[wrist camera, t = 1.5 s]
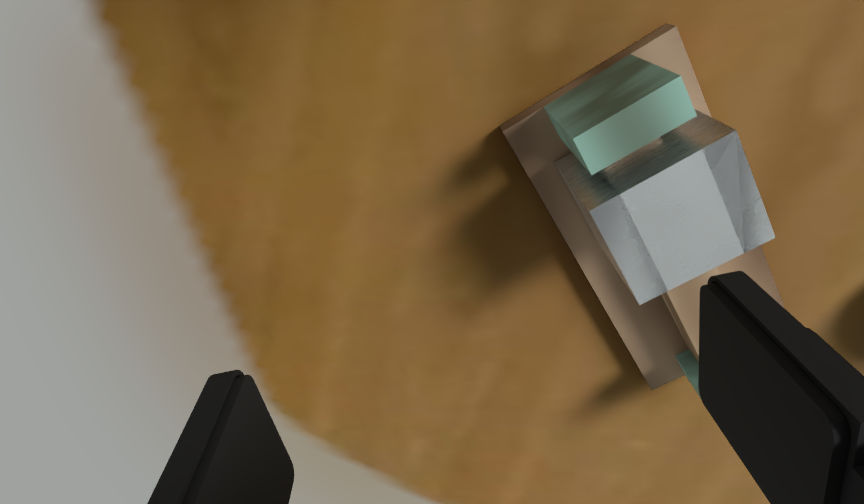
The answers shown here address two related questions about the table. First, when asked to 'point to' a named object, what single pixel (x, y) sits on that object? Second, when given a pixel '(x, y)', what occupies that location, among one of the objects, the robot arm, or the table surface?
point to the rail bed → (582, 240)
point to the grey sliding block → (672, 206)
